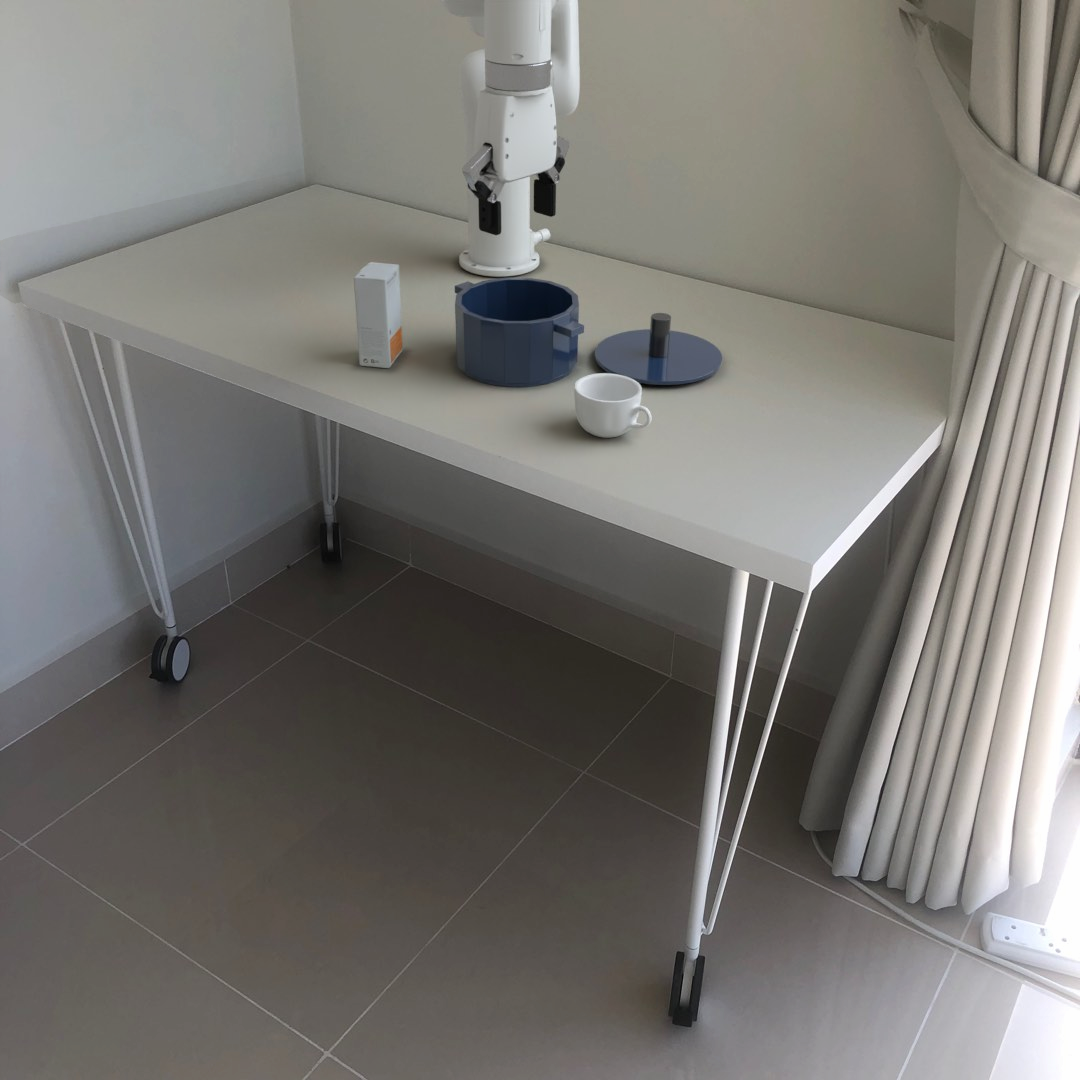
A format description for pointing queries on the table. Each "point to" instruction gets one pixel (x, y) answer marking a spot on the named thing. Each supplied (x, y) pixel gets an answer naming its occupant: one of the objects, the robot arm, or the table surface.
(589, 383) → the teacup
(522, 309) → the pot
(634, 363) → the pot lid
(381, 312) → the cosmetic box
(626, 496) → the table surface
